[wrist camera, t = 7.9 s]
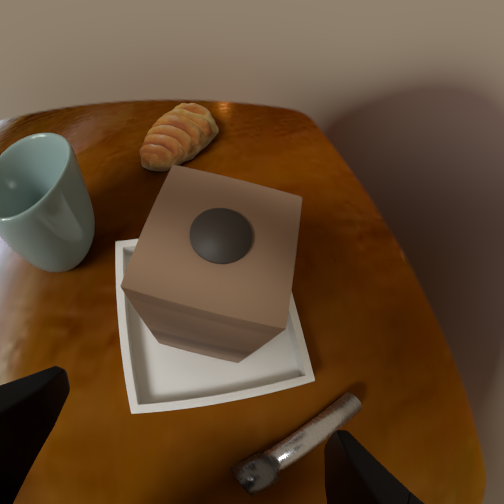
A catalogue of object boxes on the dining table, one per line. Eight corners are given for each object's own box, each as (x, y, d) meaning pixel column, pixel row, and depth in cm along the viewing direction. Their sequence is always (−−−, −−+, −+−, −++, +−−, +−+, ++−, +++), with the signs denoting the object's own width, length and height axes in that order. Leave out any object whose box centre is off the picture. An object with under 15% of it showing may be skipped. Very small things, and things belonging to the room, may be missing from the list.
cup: (52, 204, 24) (16, 130, 15) (116, 216, 25) (91, 133, 16) (20, 273, 20) (-38, 212, 11) (87, 295, 21) (33, 232, 12)
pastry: (176, 187, 28) (175, 159, 24) (125, 164, 28) (119, 137, 25) (221, 135, 32) (224, 109, 29) (174, 118, 32) (174, 93, 29)
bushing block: (238, 363, 20) (287, 327, 10) (158, 343, 20) (119, 284, 9) (252, 289, 23) (303, 194, 13) (179, 271, 23) (172, 162, 12)
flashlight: (247, 489, 16) (255, 502, 14) (227, 463, 17) (233, 474, 14) (355, 413, 20) (373, 414, 18) (339, 388, 21) (357, 388, 19)
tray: (136, 412, 18) (131, 413, 16) (120, 251, 23) (115, 241, 22) (306, 382, 21) (315, 380, 19) (267, 235, 26) (272, 225, 25)
